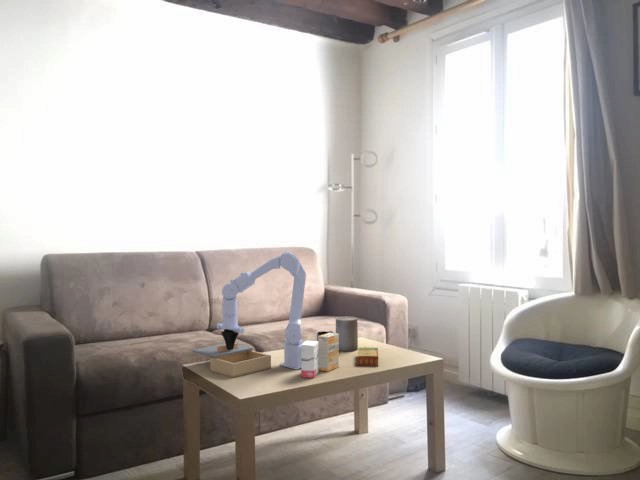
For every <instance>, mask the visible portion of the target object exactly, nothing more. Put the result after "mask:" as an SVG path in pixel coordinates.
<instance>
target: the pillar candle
mask: <svg viewBox="0 0 640 480" xmlns="http://www.w3.org/2000/svg"><path fill="white" fill-rule="evenodd" d="M358 328H359V327H358V317H356V316H348V315H346V316H345V315H344V316H337V317H335V333H336V334H339V351H342V352H354V351H356V350H357V351H358V348H359V342H358V340H359V337H358V335H359V333H358Z"/></svg>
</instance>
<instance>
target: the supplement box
mask: <svg viewBox="0 0 640 480" xmlns="http://www.w3.org/2000/svg"><path fill="white" fill-rule="evenodd" d="M339 351H340V350H339V334H336V332H333V333H327V334H324V335H320V336H318V371H322V372H330V371H333V370H334V369H336V368H339V360H340V359H339V353H340V352H339Z"/></svg>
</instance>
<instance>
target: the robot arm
mask: <svg viewBox="0 0 640 480" xmlns="http://www.w3.org/2000/svg"><path fill="white" fill-rule="evenodd" d="M281 267H282V268H283V269H284V270H286V271H287V272H288V273H290V275H291V276H292V277H293V283H292V284H293V285H292V294H291V301H290V302H291V303H290V311H289V319H288V324H287V326H286V328H285V330H284V332H285V333H284V334H285V340H284V341H283V343H284V344H283V346H284V347H283V348H284V349H283V353H284V355H283V361H284V362H282V363H279V366H281V367H285V368H289V369H292V370H293V369H294V370H299V369H301V344H303V343H304V341H303V340H302V339H303V334H302V328H301V323H302V313H303V305H304V296H305V289H306V288H305V287H306V278H307V272H306V270H305V269H304V267H303V265H302V263H301V262H300V259H299V258H298V257H297V255H295V254H294V253H293V252H290V251H285V252H283V253H281V254H279V255H277V256H275V257H272V258H271V259H269V260H267V261H266V262H265V263H263V264H262V265H261V266H259V267H257V268H256V269H254V270H253V271H245V272H244V271H242V272H241V273H240V275H239V276H238V277H236V278H234V279H230V280H229V282H228V283H226V284H225V285H224V286H223V287H222V289H221V295H222V322H220V323H219V322H218V323H217V324H216V329H218V330H220V329H221V330H223V331H221V332H220V334H221V336H222V338H223V341H224V342H225V343H226V347H227V350H232V349H233V348H234V344H235V343H236V341H237V338H238V336H239V334H240V335H241V334H244V333H245V328H244V327H242V326H241V325H238V324H239V323H238V320H239V319H238V314H239V313H238V296H237V295H238V293H242V292H244V291H246V290H247V289H249V288H251V287H252V286H254V285H255V283H256V280H257V279H258V278H260V277H262V276H263V275H265V274H267V273H268V272H271V271H272V270H280V269H281ZM225 343H224V344H225Z"/></svg>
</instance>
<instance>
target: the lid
mask: <svg viewBox="0 0 640 480" xmlns="http://www.w3.org/2000/svg"><path fill="white" fill-rule="evenodd" d="M250 350H251V351H254V348H253V347H250V346H247V345H243V344H239V343H238V342H235V344H234V348H233V349H232V350H227V347H226V343H222V344H221V343H220V344H215V345H211V346H205V347H200V348H195V349H192V352H193V353H195V354H198V355H203V356H205V357H212V358H217V357H222V356H227V355H231V354H236V353H241V352H246V351H250Z"/></svg>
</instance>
